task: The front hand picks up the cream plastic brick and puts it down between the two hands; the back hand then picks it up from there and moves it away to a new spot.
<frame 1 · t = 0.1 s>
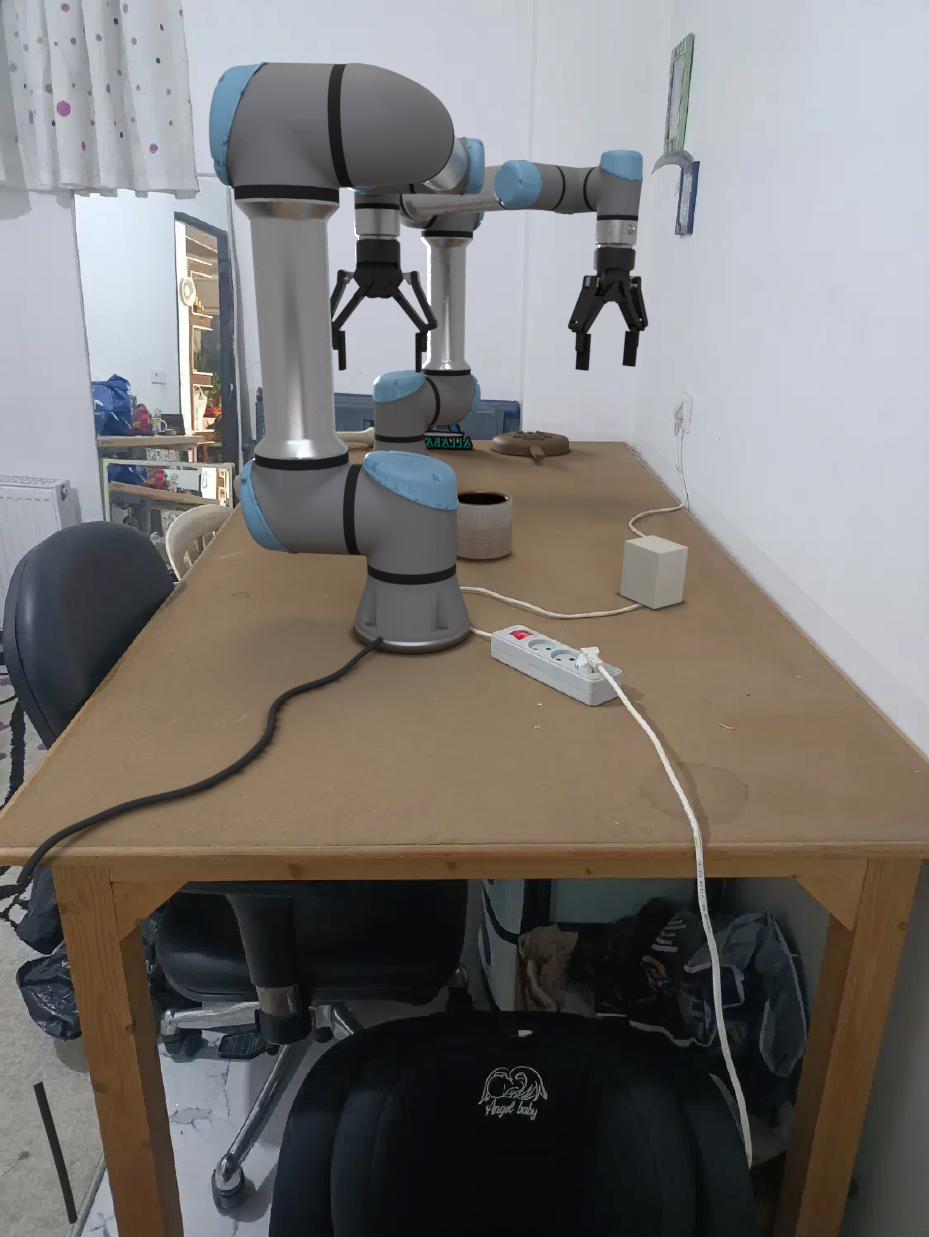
front hand: (380, 371, 149), 28 cm above the table, tool pointing down, fingers open, 13 cm apart
back hand: (606, 368, 162), 28 cm above the table, tool pointing down, fingers open, 13 cm apart
planter: (479, 553, 145), on the table
ice cream bar: (533, 454, 224), on the table
brick: (650, 598, 126), on the table
dog toy: (343, 446, 231), on the table
music box: (294, 501, 175), on the table
decorative sign: (438, 448, 230), on the table
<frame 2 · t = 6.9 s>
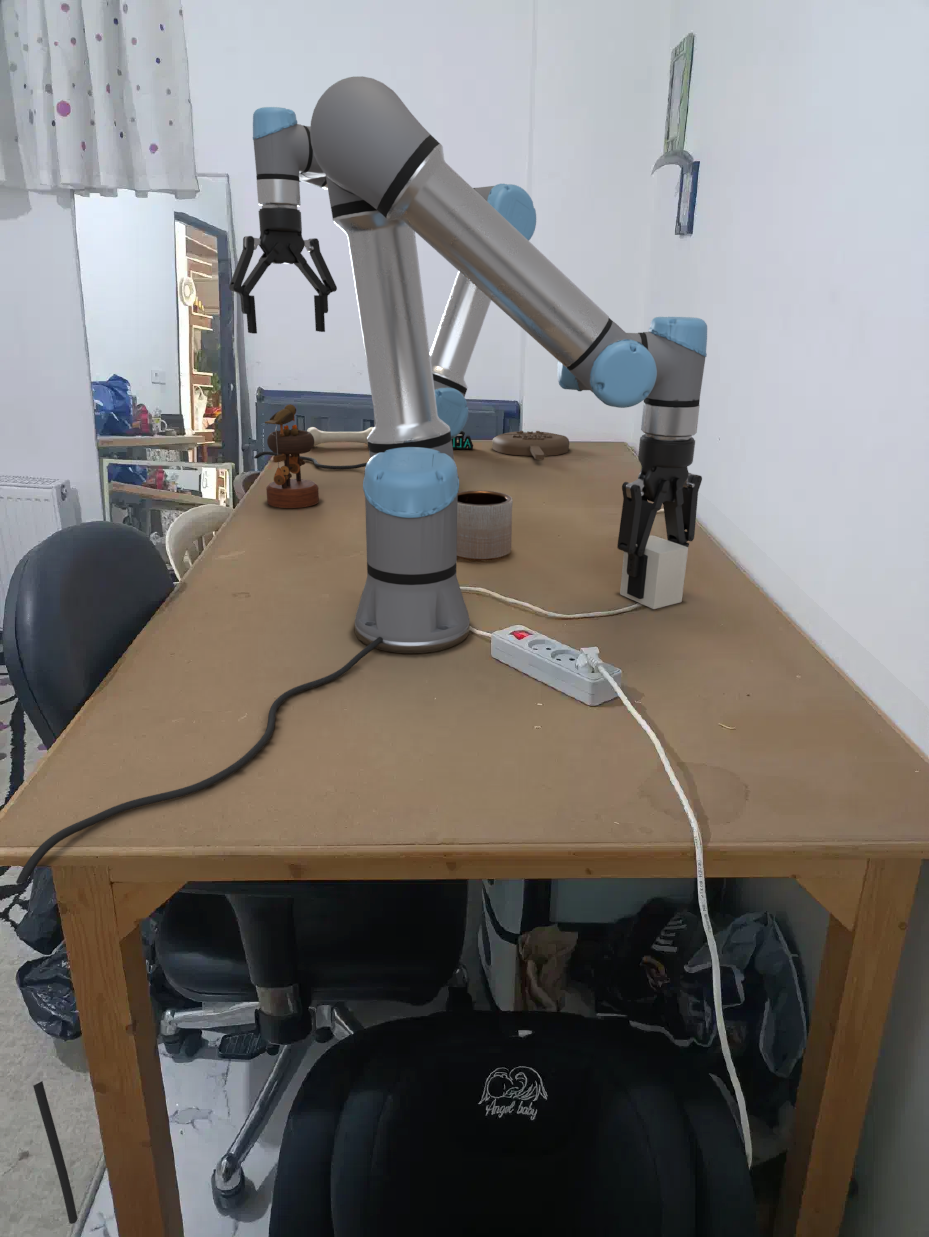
front hand: (651, 591, 126), 1 cm above the table, tool pointing down, fingers closed on brick, 6 cm apart
back hand: (287, 332, 160), 33 cm above the table, tool pointing down, fingers open, 13 cm apart
brick: (650, 598, 126), on the table, touching front hand
everything else where it was.
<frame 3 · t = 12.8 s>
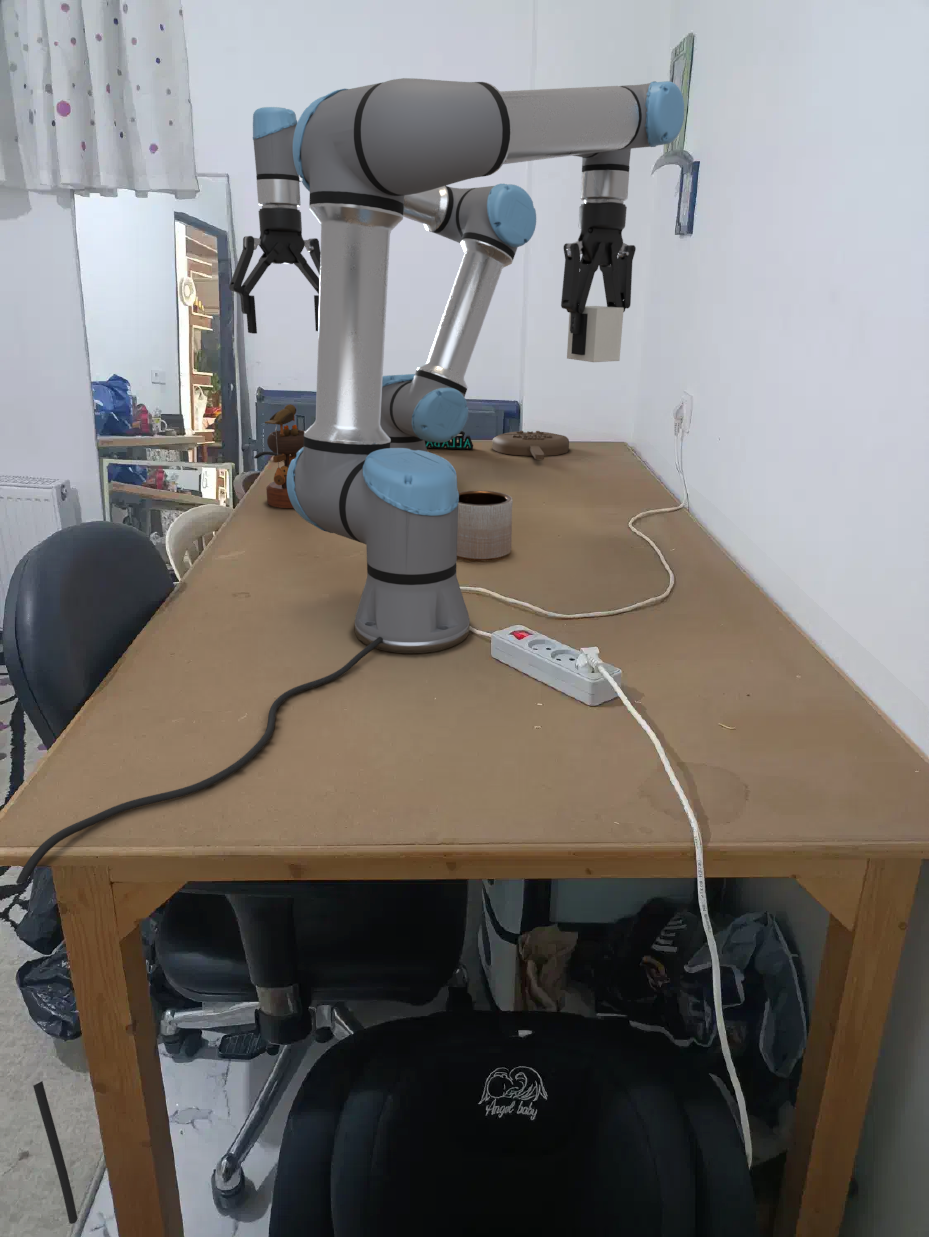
front hand: (593, 353, 144), 32 cm above the table, tool pointing down, fingers closed on brick, 6 cm apart
back hand: (287, 332, 160), 33 cm above the table, tool pointing down, fingers open, 13 cm apart
brick: (592, 359, 145), point 31 cm above the table, touching front hand
everything else where it was.
when the front hand's fingers open (2 cm above the table, at t = 18.6 s): brick stays where it is, on the table.
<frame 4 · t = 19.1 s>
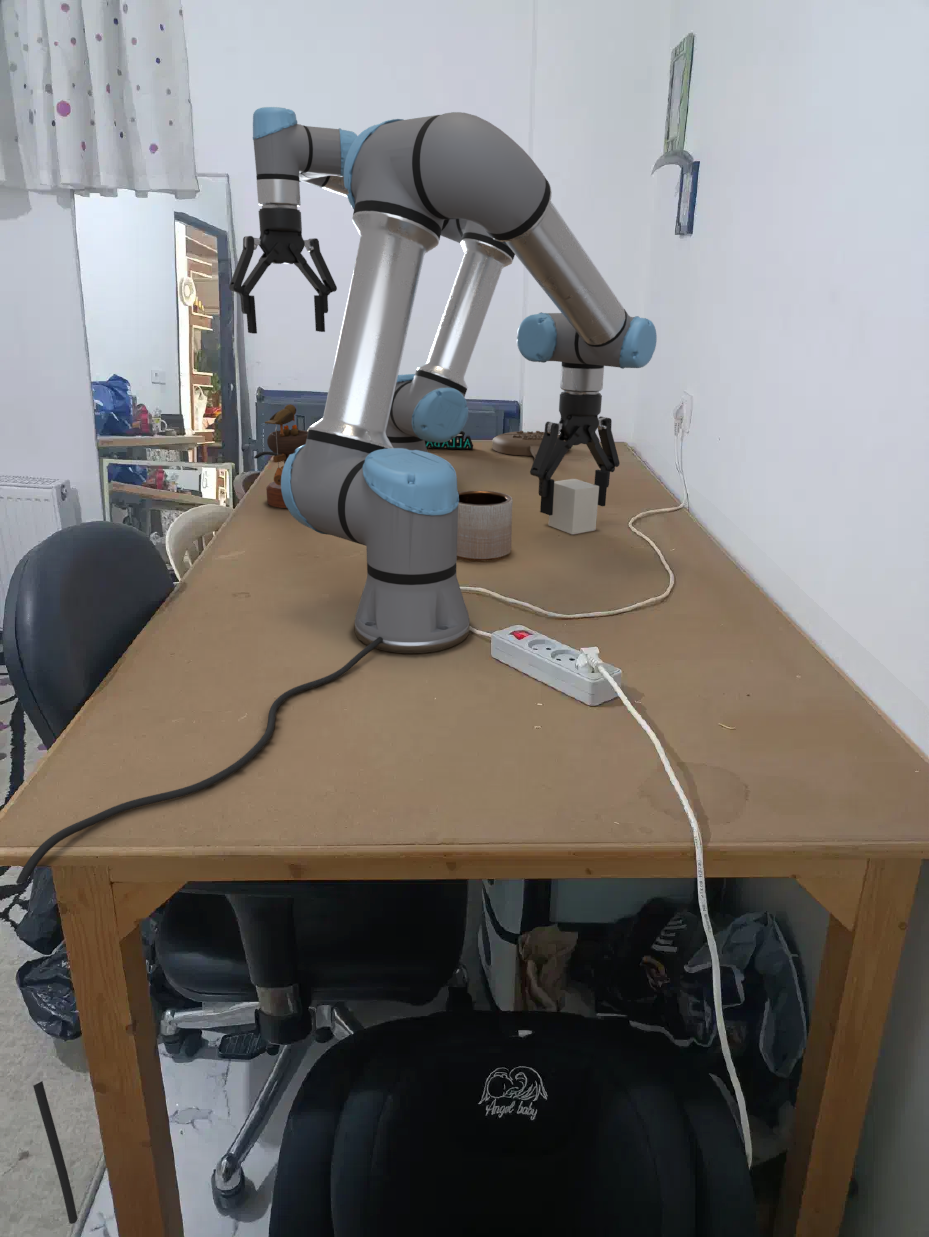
front hand: (573, 509, 159), 4 cm above the table, tool pointing down, fingers open, 12 cm apart
back hand: (287, 332, 160), 33 cm above the table, tool pointing down, fingers open, 13 cm apart
brick: (571, 527, 160), on the table
everything else where it was.
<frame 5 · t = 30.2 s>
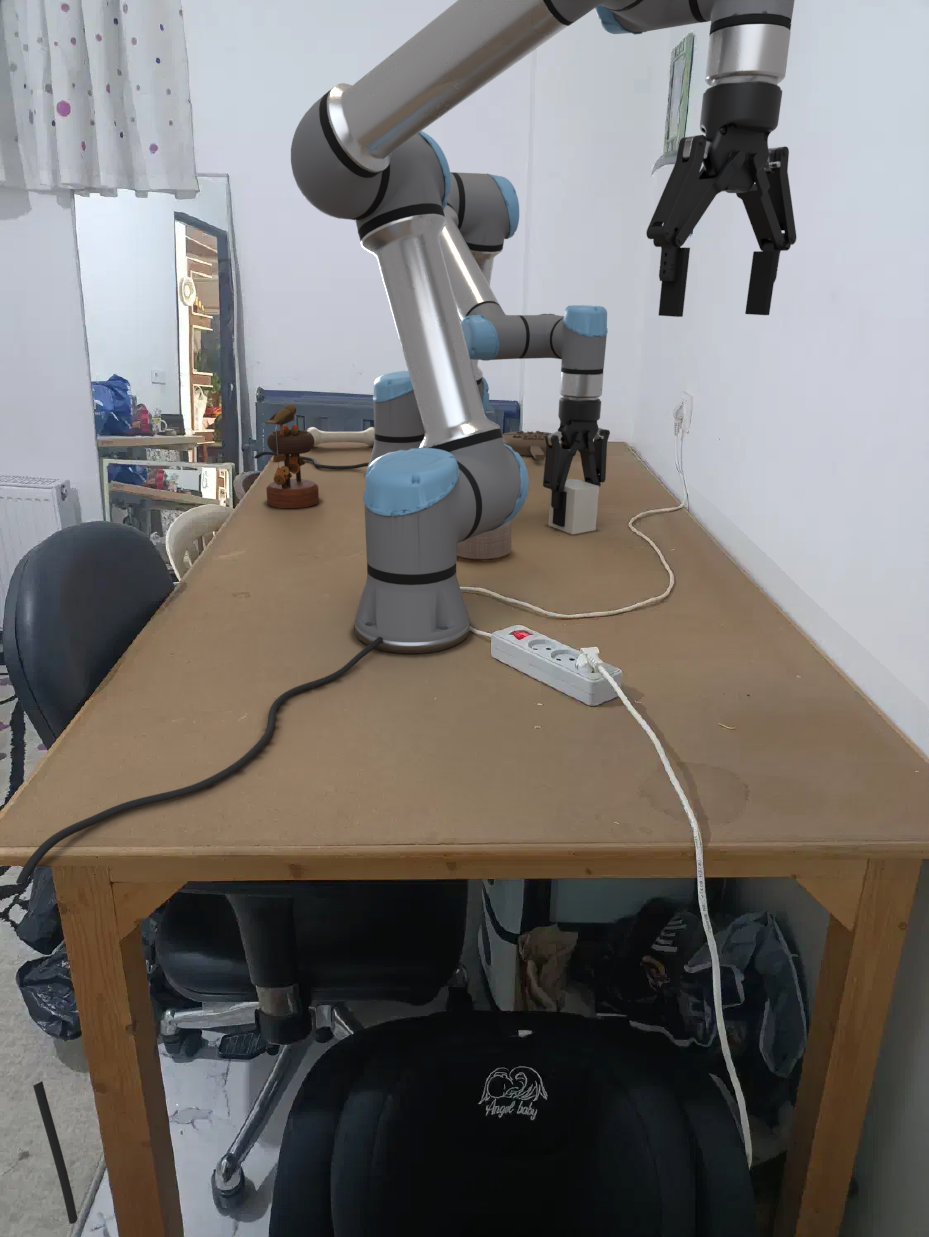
front hand: (715, 315, 91), 41 cm above the table, tool pointing down, fingers open, 13 cm apart
back hand: (572, 522, 160), 1 cm above the table, tool pointing down, fingers closed on brick, 6 cm apart
brick: (571, 527, 160), on the table, touching back hand
everything else where it was.
when the back hand's fingers open (2 cm above the table, at t = 41.5 s): brick stays where it is, on the table.
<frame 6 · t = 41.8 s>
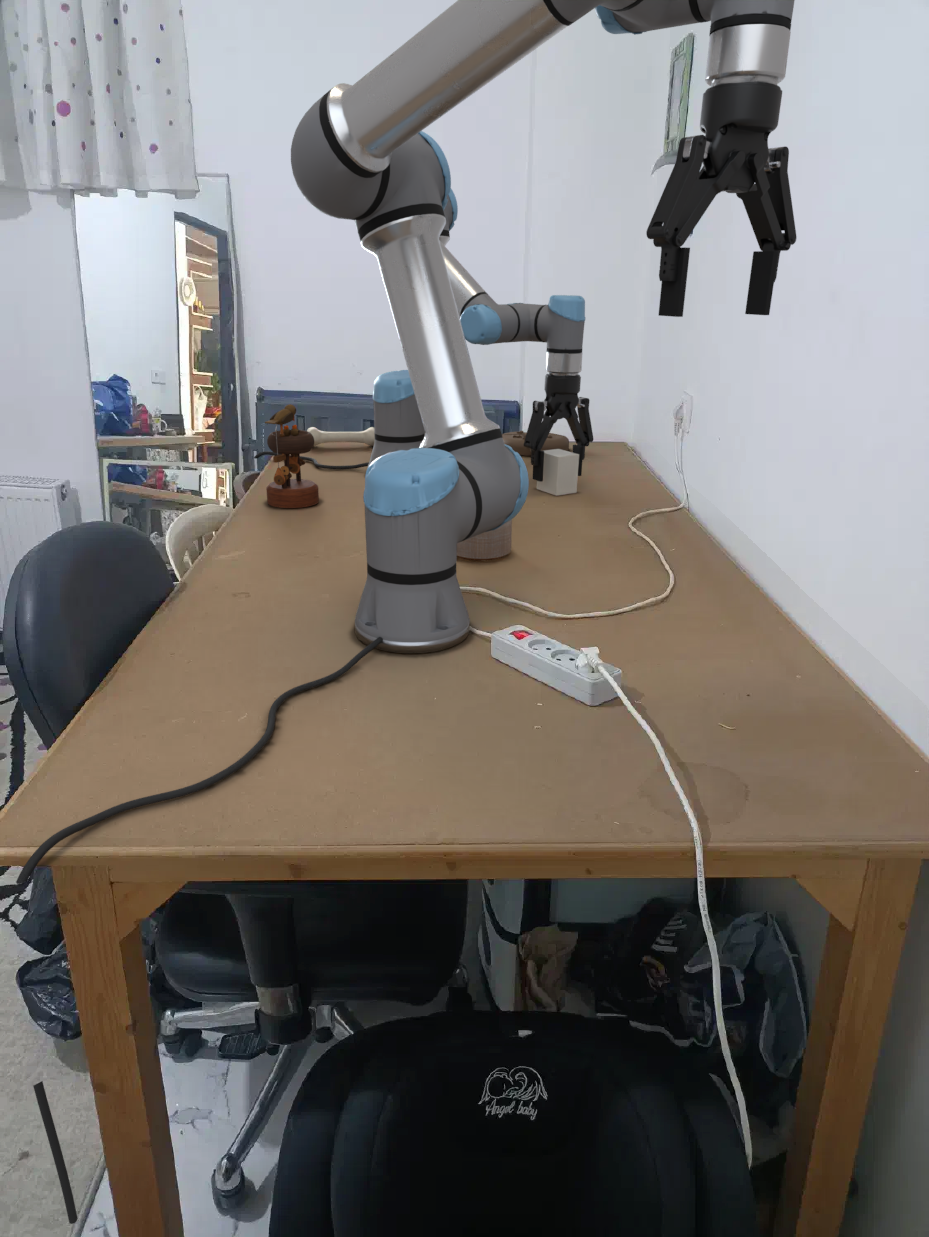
front hand: (715, 315, 91), 41 cm above the table, tool pointing down, fingers open, 13 cm apart
back hand: (557, 477, 186), 3 cm above the table, tool pointing down, fingers open, 10 cm apart
brick: (556, 490, 188), on the table
everything else where it was.
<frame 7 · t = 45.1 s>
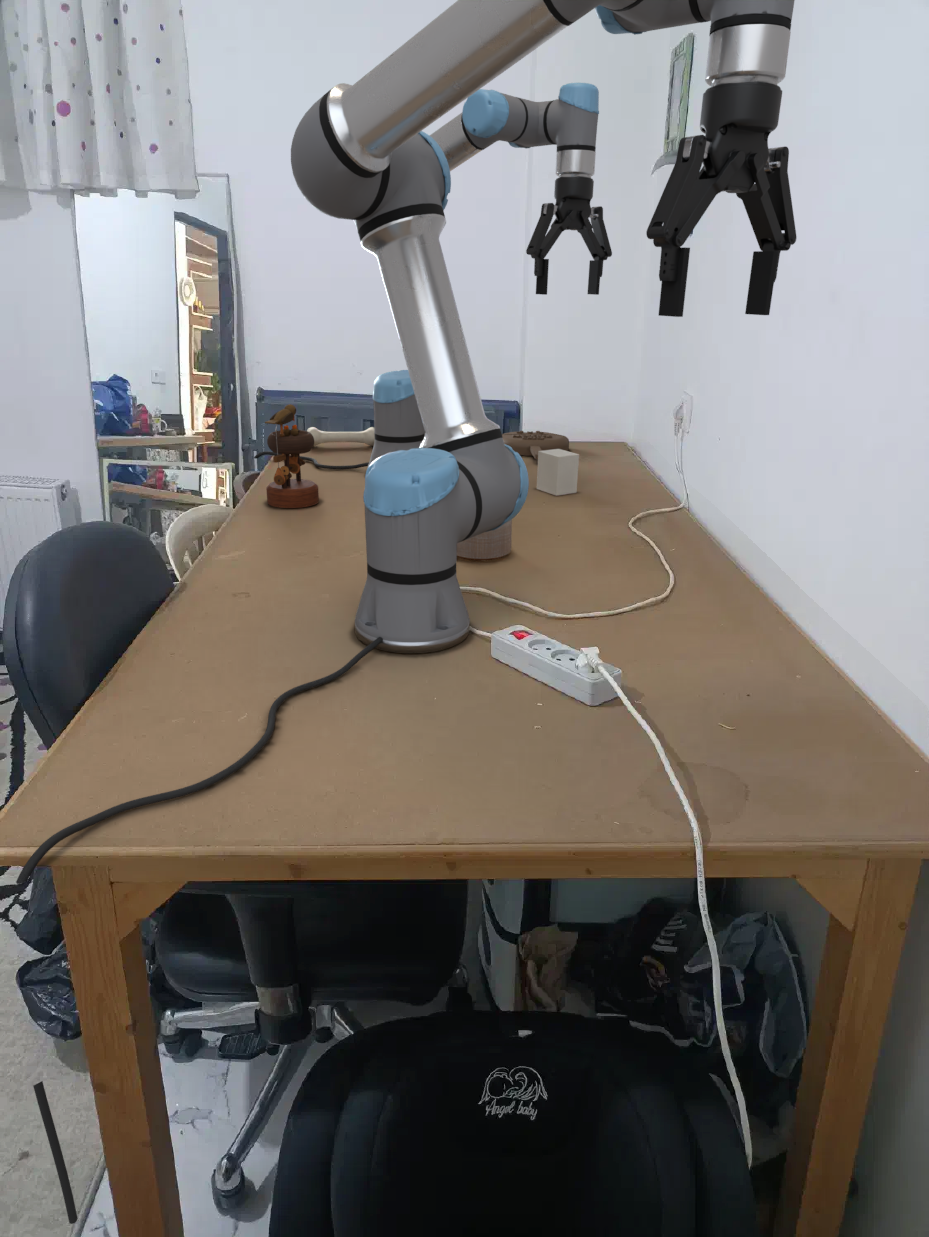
front hand: (715, 315, 91), 41 cm above the table, tool pointing down, fingers open, 13 cm apart
back hand: (567, 294, 172), 41 cm above the table, tool pointing down, fingers open, 13 cm apart
nothing on the table moved.
at the end: brick inside the target area (0.1 cm from its centre), on the table; brick tilted 0°; the two hands never held the brick at the same time; the front hand is holding nothing; the back hand is holding nothing; brick at rest at the end (0.0 cm/s) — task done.
